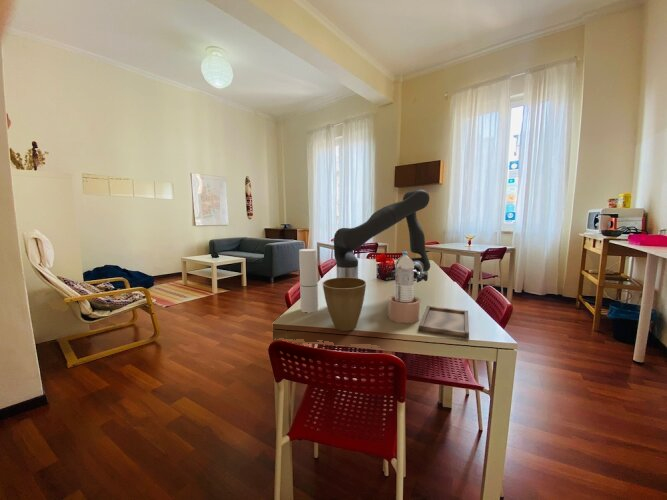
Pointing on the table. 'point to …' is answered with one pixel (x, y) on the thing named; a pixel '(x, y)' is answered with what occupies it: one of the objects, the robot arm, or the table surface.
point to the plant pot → (344, 301)
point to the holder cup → (403, 310)
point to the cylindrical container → (308, 280)
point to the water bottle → (404, 279)
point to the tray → (445, 322)
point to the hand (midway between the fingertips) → (406, 278)
